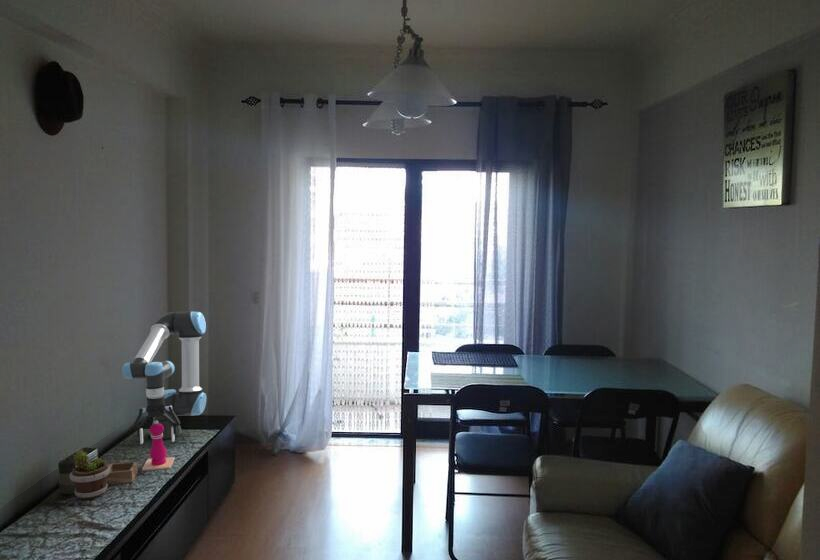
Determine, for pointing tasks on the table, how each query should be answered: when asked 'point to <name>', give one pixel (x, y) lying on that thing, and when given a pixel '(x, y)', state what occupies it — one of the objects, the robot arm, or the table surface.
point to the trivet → (166, 465)
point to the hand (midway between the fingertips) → (157, 441)
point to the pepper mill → (157, 444)
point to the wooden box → (122, 472)
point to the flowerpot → (89, 476)
